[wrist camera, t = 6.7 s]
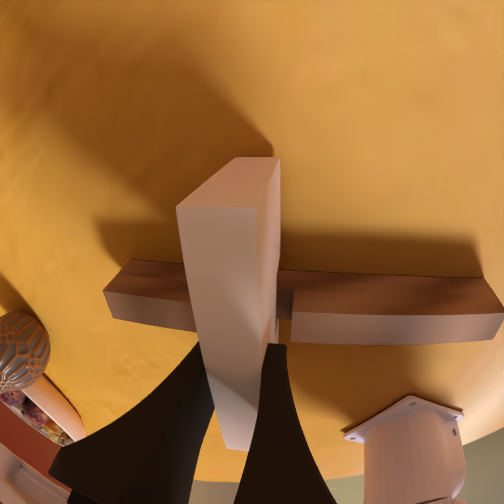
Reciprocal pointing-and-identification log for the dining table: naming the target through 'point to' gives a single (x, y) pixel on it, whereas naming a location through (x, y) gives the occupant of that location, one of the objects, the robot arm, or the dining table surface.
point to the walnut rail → (327, 305)
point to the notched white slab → (234, 283)
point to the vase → (22, 351)
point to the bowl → (46, 411)
